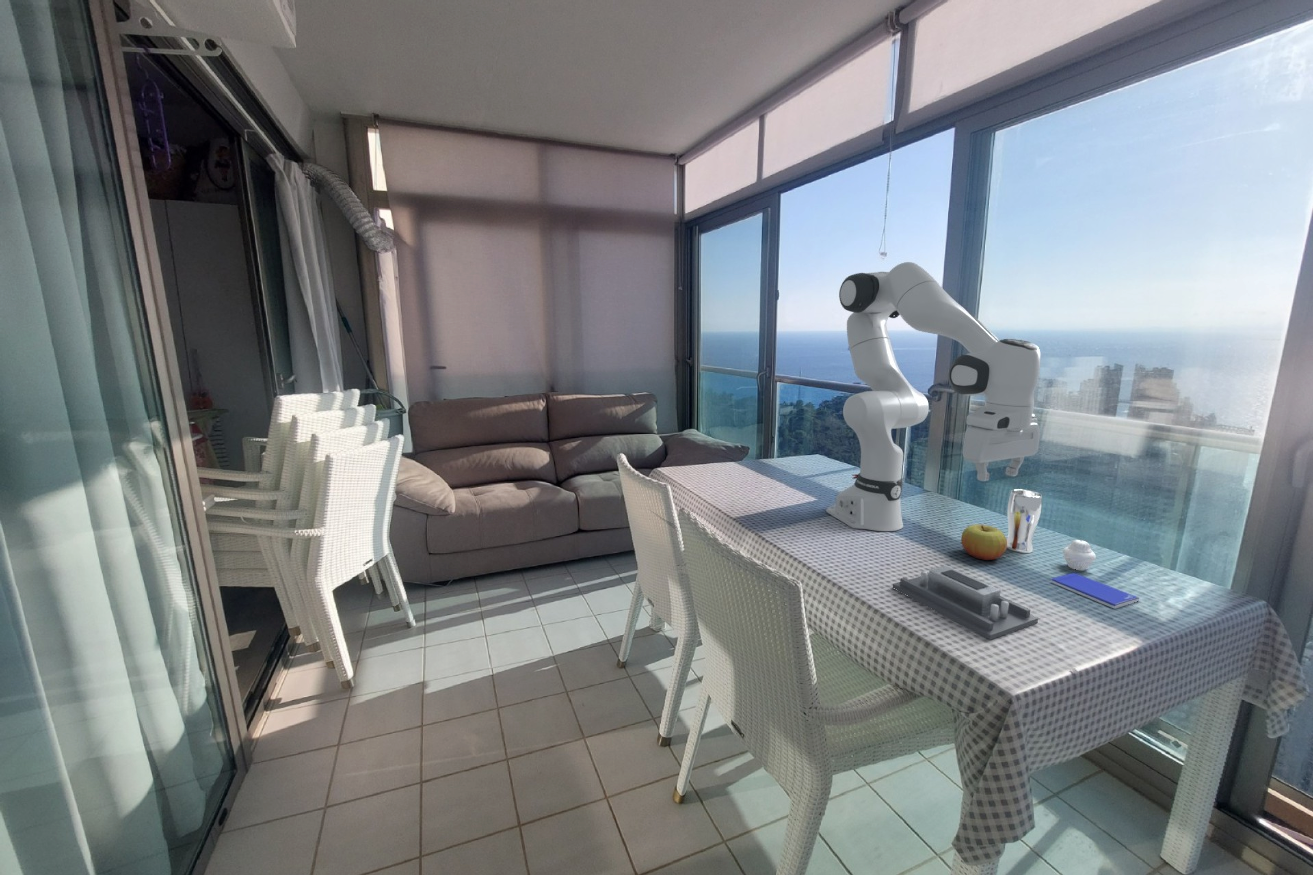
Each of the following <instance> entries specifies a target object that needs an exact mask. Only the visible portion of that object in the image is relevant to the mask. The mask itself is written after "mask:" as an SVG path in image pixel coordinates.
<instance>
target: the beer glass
mask: <svg viewBox="0 0 1313 875" xmlns="http://www.w3.org/2000/svg"><path fill="white" fill-rule="evenodd" d="M1042 498H1043V495H1042V493H1040V492H1038V491H1035V490H1029V489H1021V488H1020V489H1019V488H1018V489H1011V490H1010V494H1009V500H1008V504H1007V511H1006V512H1007V528H1008V531H1007V533H1008V534H1007V537H1006V540H1007V548H1006V550H1007V549H1008V550H1009V551H1011V552H1016V553H1021V554H1029V553H1033V551H1034V548H1033V539H1034V534H1035V531H1036V529H1037V527H1038V523H1039V521H1040V518H1041V512H1042V505H1043V504H1042V502H1043V499H1042Z"/></svg>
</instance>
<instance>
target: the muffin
mask: <svg viewBox="0 0 1313 875" xmlns="http://www.w3.org/2000/svg"><path fill="white" fill-rule="evenodd" d="M1062 553H1063V558H1064V559H1065V560H1064V561H1065V562H1066V564H1067V567H1069V568H1070V569H1072V570H1075V569H1076V571H1086V570H1087V569H1088V568H1089V567H1090V566H1091V565H1092V564H1093V563H1094V561H1095V560H1096V558H1097V555H1096V554H1095V552H1094V551H1093V550H1092V549H1091V545H1090V544H1089V542H1087V541H1085V540H1083V539H1074V540H1072V541H1071V543H1070V544H1069V545H1068V546H1065V547H1064V548H1063V549H1062Z"/></svg>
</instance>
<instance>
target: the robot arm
mask: <svg viewBox="0 0 1313 875" xmlns="http://www.w3.org/2000/svg"><path fill="white" fill-rule="evenodd" d="M838 293H839V294H838V295H839V296H838V297H839V301H840V305H841V306H842V308H843V309H844V310H845V311H848V312H850V313H851V314H850V315H849V316H848V317H847V320H846V333H847V334H846V335H847V344H848V349H849V351H850V357H851V360H852V364H853V369H854V373H855V376H856V377H857V378H858V379H859V380H860V381H861V382H863V383H865V384H866V385H867V386H868V387H869V388H870V389H871V390H869V391H868V390H867V391H866V390H865V391H863V392H858V393H856V394H853V395H850V396H848V398H847V399H846V400H845V402H844V404H843V409H842V415H843V418H844V421H845V423H846V425H847V426H848V427H849V428H851V429H852V430H853V431H854V433H855V434H856V436H857V439H858V441H859V446H860V467H859V468H860V470H859V473H858V474H852V475H851V476H852V477H851V478H852V479H853V480H854V479H855V481H854V484H852V485H851V486H849V487H848V488H845V489H844V490H842V491H840V492H839V493H838V494H837V495H836V497H835V502H834V505H831V506H828V507H827V508H826V513H828V514H829V515H831V516H832V517H834V518H836V519H837V520H839V521H841V522H842V523H843V524H846V525H847V526H849V527H850V528H853V529H857V530H859V529H863V530H868V531H869V530H870V531H877V532H895V531H899V530H901V529H903V528H904V523H903V518H902V507H901V504H902V503H901V502H902V501H901V495H902V492H903V484H904V483H903V482H904V480H903V477H902V476H903V475H902V473H903V464H904V452H903V449H902V448H901V447H900V446H899V445H897V444H896V443H894V440H893V437H892V430H893V429H905V428H910V427H913V426H915V425H916V426H917V425H918V424H920V423H921V424H922V422H923V421H925V419H927V417H928V414H929V412H930V411H929V410H930V408H929V402H928V399H927V396H925V395H924V394H923V392H920V391H919V390H917V389H916V388H914V386H912V384H911V383H910V382H909V381H908V379H907V378H906V377H905V376H904V374H903V373H902V371H901V370H900V367H899V366H898V362H897V359H896V357H895V356H896V355H895V353H894V349H893V346H892V343H891V338H890V335H889V332H888V328H887V321H888V318H891V319H896V318H898V317H899V316H900V317H901V318H902V320H903V321H904V322H905V323H906V324H907V325H908V326H910V327H911V328H912V329H914V330H916V331H919V332H922V333H926V334H927V333H928V334H933V335H938V336H942V337H946V338H948V339H952V340H953V341H956V342H958V343H959V344H961V345H962V346H963V347H964V349H966V350H967V351H968V352H969V353H965V354H961V355H959V356H957V357H956V358H955V359H954V360H953V361H952V363H951V364H950V366H949V368H948V372H947V375H948V376H947V377H948V382H949V385H950V387H951V388H952V390H953V391H954V392H955V393H957V394H959V395H964V396H968V397H969V396H975V397H976V396H984V397H985V400H984V405H983V406H981V407H980V408H978V409H977V410H976V411H973V412H972V413H970V414H968V415H967V416H966V422H965V423H966V425H968V427H967V428H966V430H965V434H964V437H963V445H962V456H963V459H964V461H967V462H969V463H974V466H975V469H976V472H977V475H976V479H977V480H978V481H979V482H980V481H981V482H986V481H987V482H988V481H989V480H990V475H991V474H990V473H991V472H990V473H989V472H988V469H987V467H989V466H990V465H989V463H991V462H997V461H1003V460H1011V461H1010V463H1009V466H1006V468H1005V475H1006V476H1008V477H1016V476H1018V473H1019V469H1020V468H1021V465H1022V464H1023V463H1024V460H1025V457H1031V456H1035V455H1036V454H1037V452H1038V451H1039V448H1040V447H1039V446H1040V437H1041V436H1040V434H1041V432H1040V431H1041V429H1040V428H1041V427H1040V425H1039V424H1038V423H1039V420H1038V418H1037V416H1035V414H1034V409H1035V408H1034V407H1035V398H1034V397H1035V396H1034V395H1035V394H1034V393H1035V390H1036V388H1037V387H1038V383H1039V379H1040V371H1041V351H1040V349H1039V346H1038V345H1036V344H1035V343H1033V342H1030V341H1026V340H1022V339H1016V338H1015V339H1014V338H1003V339H999V338H998V337H997V336H996V335H995V334H994V333H993V332H992V331H990V329H988V328H987V326H985V325H984V324H983V323H982V322H981V321H980V320H979V319H978V318H977V317H975V316H974V315H973V314H972V313H971V312H970V311H968V310H967V309H965V308H964V307H963V306H962V305H961V304H959V303H958V302H957V301H956V300H955V299H953V297H951V295H950V294H949V293H948V292H946V290H945V289H944V288H943V287H942V286H941V285H940V284H939V283H938V281H937V280H936V279H935V278H934V277H933V276H932V275H931V274H930V273H929V272H927V270H925V269H924V268H923V267H921V266H920V265H918V264H917V263H915V262H911V261H905V262H901V263H898V264H897V265H895V266H894V267H893V268H892V269H890V270H889V271H877V272H876V271H875V272H866V273H865V272H857V273H854V274H851V275H849V276H847V277H846V278H845V279H844V280H843V281H842V283H841V285H840V288H839V292H838Z"/></svg>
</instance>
